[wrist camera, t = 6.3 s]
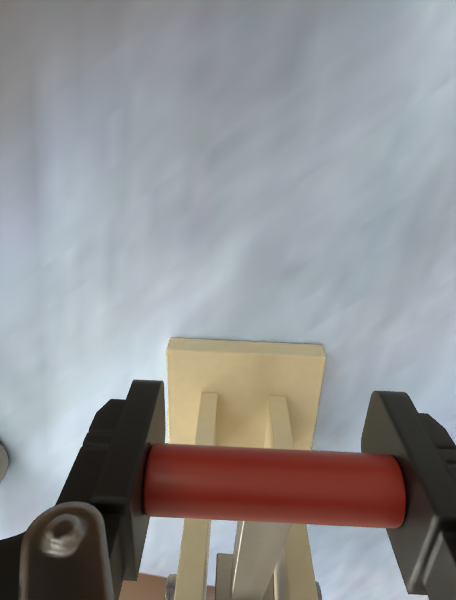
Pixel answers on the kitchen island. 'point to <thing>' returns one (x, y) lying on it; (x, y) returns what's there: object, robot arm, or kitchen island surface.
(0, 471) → the lotion bottle
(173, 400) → the bracket
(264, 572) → the lever
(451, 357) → the kitchen island surface
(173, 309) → the kitchen island surface
